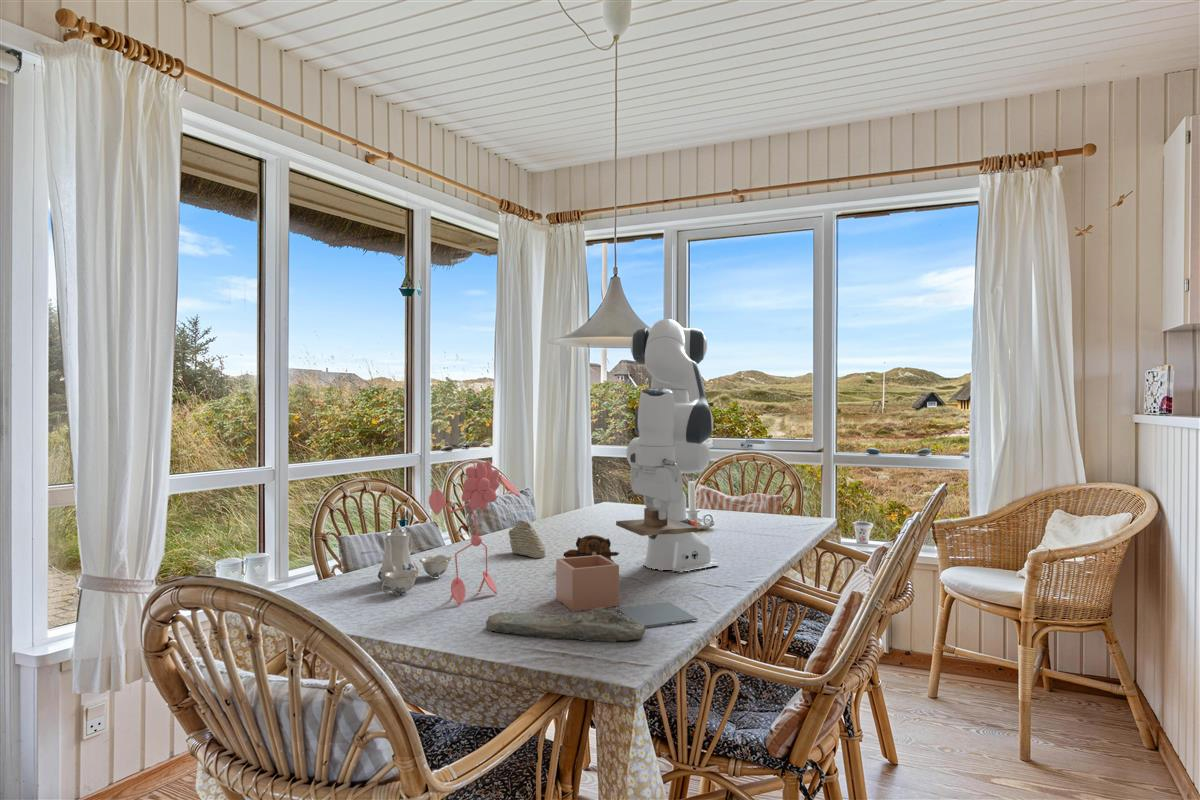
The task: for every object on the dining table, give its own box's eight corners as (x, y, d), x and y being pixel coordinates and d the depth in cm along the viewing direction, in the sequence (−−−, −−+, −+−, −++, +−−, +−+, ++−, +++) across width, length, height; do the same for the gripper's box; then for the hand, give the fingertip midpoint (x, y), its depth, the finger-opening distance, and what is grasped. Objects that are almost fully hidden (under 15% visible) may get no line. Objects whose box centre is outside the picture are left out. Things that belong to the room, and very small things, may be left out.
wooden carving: (563, 572, 206) (563, 537, 206) (563, 568, 210) (563, 534, 210) (619, 571, 206) (620, 537, 206) (618, 567, 211) (619, 534, 211)
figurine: (419, 607, 171) (422, 462, 170) (500, 585, 190) (503, 455, 190) (459, 622, 161) (462, 468, 160) (540, 597, 180) (543, 460, 180)
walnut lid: (668, 521, 174) (668, 503, 174) (697, 531, 161) (697, 511, 161) (616, 525, 168) (616, 506, 168) (641, 535, 155) (641, 515, 155)
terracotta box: (600, 593, 183) (600, 554, 183) (618, 606, 172) (619, 565, 172) (556, 598, 179) (556, 558, 179) (572, 611, 168) (572, 569, 168)
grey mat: (668, 604, 174) (668, 601, 174) (697, 621, 161) (697, 618, 161) (616, 610, 169) (616, 608, 169) (641, 628, 156) (641, 625, 156)
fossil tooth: (536, 563, 221) (502, 552, 230) (550, 559, 226) (516, 548, 235) (537, 527, 220) (504, 517, 229) (551, 523, 225) (518, 514, 234)
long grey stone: (495, 627, 161) (480, 644, 152) (494, 604, 161) (478, 620, 151) (648, 628, 155) (642, 647, 145) (646, 605, 154) (640, 622, 145)
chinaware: (411, 606, 177) (417, 541, 177) (350, 596, 180) (356, 531, 180) (455, 578, 204) (461, 521, 204) (402, 569, 208) (407, 513, 207)
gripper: (690, 460, 156) (690, 523, 156) (649, 454, 175) (649, 510, 175) (664, 461, 154) (664, 525, 154) (626, 454, 173) (625, 511, 173)
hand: (656, 517), depth 165 cm, fingers closed on walnut lid, 4 cm apart
